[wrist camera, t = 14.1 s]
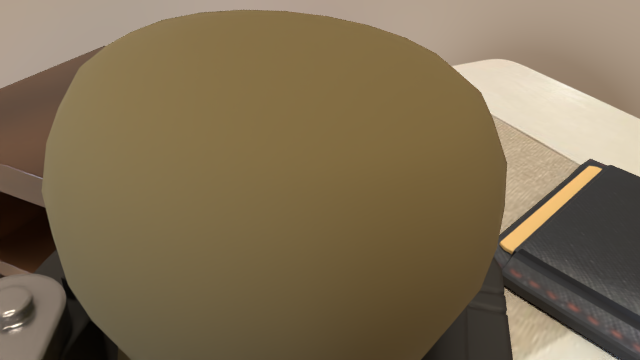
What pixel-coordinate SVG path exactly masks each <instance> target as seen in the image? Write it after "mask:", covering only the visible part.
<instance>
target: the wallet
mask: <svg viewBox="0 0 640 360" xmlns="http://www.w3.org/2000/svg"><path fill="white" fill-rule="evenodd" d="M494 257H495V259H496V260H497V262H498V264H499V265H500V267H501V268H502V275H503V283H504V285H505V286H506V287H508V288H509V289H511V290H512V291H514V292H515V293H516V294H518V295H520V296H521V297H523V298H524V299H526V300H528V301H529V302H531V303H532V304H534V305H536V306H537V307H539V308H540V309H542V310H543V311H545V312H547V313H548V314H550V315H551V316H553V317H555V318H556V319H558V320H559V321H561V322H563V323H564V324H566V325H567V326H569V327H571V328H572V329H574V330H575V331H577V332H579V333H580V334H582V335H583V336H585V337H587V338H588V339H590V340H591V341H593V342H595V343H596V344H598V345H599V346H601V347H603V348H604V349H606V350H607V351H609V352H611V353H612V354H614V355H615V356H617V357H619V358H620V359H622V360H640V177H639V176H636V175H634V174H632V173H629V172H627V171H624V170H622V169H620V168H617V167H615V166H612V165H608V166H607V165H604V164H602V163H600V162H597V161H595V160H593V159H589V160H588V161H586V162H585V163H583V164H582V165H580V166H579V167H578V168H577V169H576V170H575V171H574V172H573V173H572V174H571V175H570V176H569V177H568V178H567V179H565V180H564V181H563V182H562V183H561V184H559V185H558V186H557V187H556V188H555V189H554V190H552V191H551V192H550V193H549V194H548V195H546V196H545V197H544V198H543V199H542V200H541V201H539V202H538V203H537V204H536V205H535V206H533V207H532V208H531V209H530V210H529V211H528V212H526V213H525V214H524V215H523V216H522V217H520V218H519V219H518V220H517V221H516V222H514V223H513V224H512V225H511V226H510V227H509V228H507V229H506V230H505V231H504V232H503V233H501V234H500V235H499V239H498V245H497V249H496V251H495V254H494Z"/></svg>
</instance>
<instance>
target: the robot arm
mask: <svg viewBox="0 0 640 360" xmlns="http://www.w3.org/2000/svg"><path fill="white" fill-rule="evenodd" d="M506 311H507V308H506V299H505V296H504V283H503V275H502V268H501V267H500V265H499V264H498V262H497V260H496V259H495V257H494V256H493V259H492V261H491V264H490V267H489V269H488V272H487V274H486V277H485V279H484V282H483V284H482V287H481V289H480V291H479V292H478V293H477V294H476V295H475V297H474V298H473V299H472V300H471V301H470V303H469V304H468V305H467V306H466V307H465V309H464V310H463V311H462V312H461V313H460V315H459V316H458V317H457V318H456V320H455V321H454V322H453V323H452V324H451V325H450V327H449V328H448V329H447V330H446V331H445V332H444V334H443V335H442V336H441V337H440V338H439V339H438V340H437V342H436V343H435V344H434V345H433V346H432V347H431V349H430V350H429V351H428V352H427V353H426V354H425V356H424V357H423V358H422V359H421V360H513V357H512V349H511V341H510V332H509V324H508V316H507V315H506ZM0 360H118V346H117V345H116V344H115V343H114V342H113V341H112V340H111V339H110V338H109V337H108V336H107V335H106V334H105V333H104V332H103V331H102V330H101V329H100V328H99V327H98V326H97V325H96V324H95V323H94V322H93V321H92V320H91V318H90V317H89V315H88V314H87V312H86V311H85V309H84V308H83V306H82V305H81V303H80V302H79V300H78V299H77V297H76V296H75V294H74V293H73V291H72V290H71V288H70V287H69V285H68V283H67V280H66V277H65V273H64V270H63V267H62V264H61V261H60V258H59V255H58V251H57V249H56V250H55V251H54V252H53V253H52V254H51V255H50V256H49V257H48V258H47V259H46V260H45V261H44V262H43V263H42V264H41V265H40V266H39V267H38V269H37V270H36V271H35V272H34V273H33V274H17V275H11V276H7V277H3V278H0Z"/></svg>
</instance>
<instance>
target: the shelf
mask: <svg viewBox="0 0 640 360" xmlns="http://www.w3.org/2000/svg"><path fill="white" fill-rule="evenodd" d="M104 47H105V46H103V47H100V48H98V49H96V50H93V51H91V52H89V53H86V54H84V55H81V56H79V57H76V58H74V59H71V60H69V61H66V62H64V63H62V64H59V65H57V66H54V67H52V68H50V69H47V70H45V71H42V72H40V73H37V74H35V75H33V76H30V77H28V78H25V79H23V80H20V81H18V82H16V83H13V84H11V85H8V86H6V87H4V88H1V89H0V278H3V277H7V276H11V275H17V274H33V273H34V272H35V271H36V270H37V269H38V267H39V266H40V265H41V264H42V263H43V262H44V261H45V260H46V259H47V258H48V257H49V256H50V255H51V254H52V253H53V252H54V251H55V250H56V249H57V248H56V245H55V242H54V239H53V236H52V232H51V227H50V223H49V219H48V215H47V211H46V207H45V203H44V199H43V195H42V182H43V172H44V161H45V151H46V142H47V139H48V137H49V134H50V131H51V128H52V125H53V122H54V119H55V116H56V113H57V110H58V107H59V105H60V104H61V102H62V100H63V98H64V96H65V94H66V92H67V90H68V88H69V86H70V84H71V83H72V81H73V79H74V77H75V75H76V73H77V71H78V69H79V68H80V67H81V66H82V65H83V64H84V63H86V62H87V61H88V60H89V59H91V58H92V57H93V56H94V55H96V54H97V53H98V52H99V51H101V50H102V49H103V48H104Z"/></svg>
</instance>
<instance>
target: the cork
mask: <svg viewBox="0 0 640 360" xmlns="http://www.w3.org/2000/svg"><path fill="white" fill-rule="evenodd" d="M506 172H507V161H506V158H505V155H504V152H503V149H502V146H501V143H500V139H499V136H498V133H497V130H496V127H495V124H494V121H493V118H492V116H491V113H490V111H489V109H488V107H487V105H486V102H485V100H484V98H483V96H482V94H481V92H480V91H479V90H478V89H477V88H475V87H474V86H473V85H472V84H471V83H470V82H469V81H467V80H466V79H465V78H464V77H463V76H462V75H461V74H459V73H458V72H457V71H456V70H455V69H454V68H453V67H451V66H450V65H449V64H448V63H447V62H446V61H444V60H443V59H442V58H441V57H440V56H438V55H437V54H436V53H434V52H432V51H430V50H428V49H426V48H424V47H422V46H420V45H418V44H416V43H415V42H413V41H411V40H409V39H407V38H405V37H401V36H398V35H396V34H393V33H390V32H387V31H384V30H381V29H378V28H375V27H372V26H369V25H365V24H360V23H355V22H351V21H346V20H342V19H337V18H333V17H328V16H321V15H312V14H304V13H296V12H288V11H262V10H233V11H217V12H204V13H197V14H191V15H186V16H181V17H175V18H170V19H165V20H161V21H158V22H156V23H153V24H151V25H148V26H146V27H143V28H140V29H138V30H135V31H133V32H130V33H128V34H127V35H125V36H123V37H121V38H119V39H118V40H116V41H114V42H112V43H111V44H109V45H107V46H105V47H104V48H103V49H102V50H101V51H99V52H98V53H97V54H96V55H94V56H93V57H92V58H91V59H89V60H88V61H87V62H86V63H84V64H83V65H82V66H81V67H80V68H79V69H78V71H77V73H76V75H75V77H74V79H73V81H72V83H71V84H70V86H69V88H68V90H67V92H66V94H65V96H64V98H63V100H62V102H61V104H60V105H59V107H58V110H57V113H56V116H55V119H54V122H53V125H52V128H51V131H50V134H49V137H48V139H47V142H46V151H45V161H44V172H43V182H42V195H43V199H44V203H45V207H46V211H47V215H48V219H49V223H50V227H51V232H52V236H53V239H54V242H55V245H56V248H57V251H58V255H59V258H60V261H61V264H62V267H63V270H64V273H65V277H66V280H67V283H68V285H69V287H70V288H71V290H72V291H73V293H74V294H75V296H76V297H77V299H78V300H79V302H80V303H81V305H82V306H83V308H84V309H85V311H86V312H87V314H88V315H89V317H90V318H91V320H92V321H93V322H94V323H95V324H96V325H97V326H98V327H99V328H100V329H101V330H102V331H103V332H104V333H105V334H106V335H107V336H108V337H109V338H110V339H111V340H112V341H113V342H114V343H115V344H116V345H117V346H118V360H421V359H422V358H423V357H424V356H425V354H426V353H427V352H428V351H429V350H430V349H431V347H432V346H433V345H434V344H435V343H436V342H437V340H438V339H439V338H440V337H441V336H442V335H443V334H444V332H445V331H446V330H447V329H448V328H449V327H450V325H451V324H452V323H453V322H454V321H455V320H456V318H457V317H458V316H459V315H460V313H461V312H462V311H463V310H464V309H465V307H466V306H467V305H468V304H469V303H470V301H471V300H472V299H473V298H474V297H475V295H476V294H477V293H478V292H479V291H480V289H481V287H482V284H483V282H484V279H485V277H486V274H487V272H488V269H489V267H490V264H491V261H492V259H493V256H494V254H495V251H496V249H497V245H498V239H499V234H500V229H501V223H502V218H503V213H504V207H505V191H506Z"/></svg>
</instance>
